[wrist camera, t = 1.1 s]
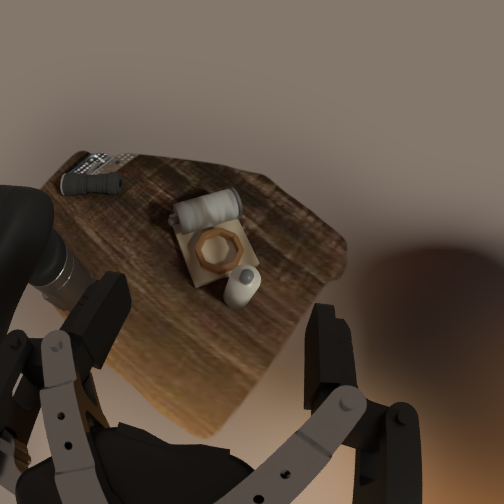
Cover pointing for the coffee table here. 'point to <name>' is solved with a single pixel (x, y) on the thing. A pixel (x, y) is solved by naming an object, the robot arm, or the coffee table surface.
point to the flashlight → (91, 183)
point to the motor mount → (211, 236)
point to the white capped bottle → (241, 286)
